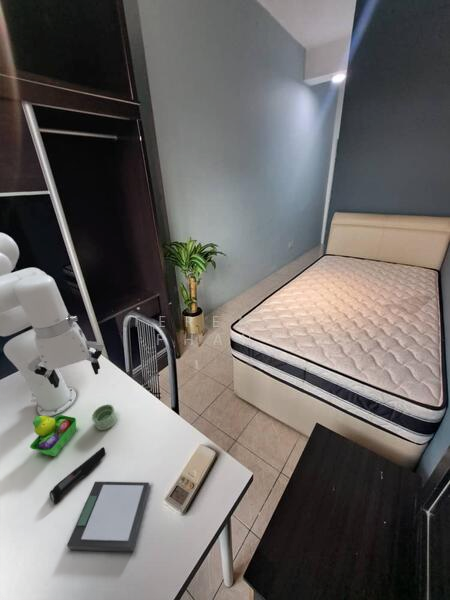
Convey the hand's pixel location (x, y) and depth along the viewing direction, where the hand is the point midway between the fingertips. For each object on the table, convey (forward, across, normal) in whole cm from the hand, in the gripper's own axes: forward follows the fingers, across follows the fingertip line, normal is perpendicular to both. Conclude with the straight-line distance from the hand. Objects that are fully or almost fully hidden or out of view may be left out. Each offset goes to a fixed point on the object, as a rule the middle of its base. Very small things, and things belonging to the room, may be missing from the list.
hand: (77, 377), depth 67 cm
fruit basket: (+28, +14, -6) cm, 32 cm away
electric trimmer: (+28, +8, +8) cm, 30 cm away
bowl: (+28, 0, -7) cm, 28 cm away
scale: (+28, -1, +23) cm, 36 cm away
